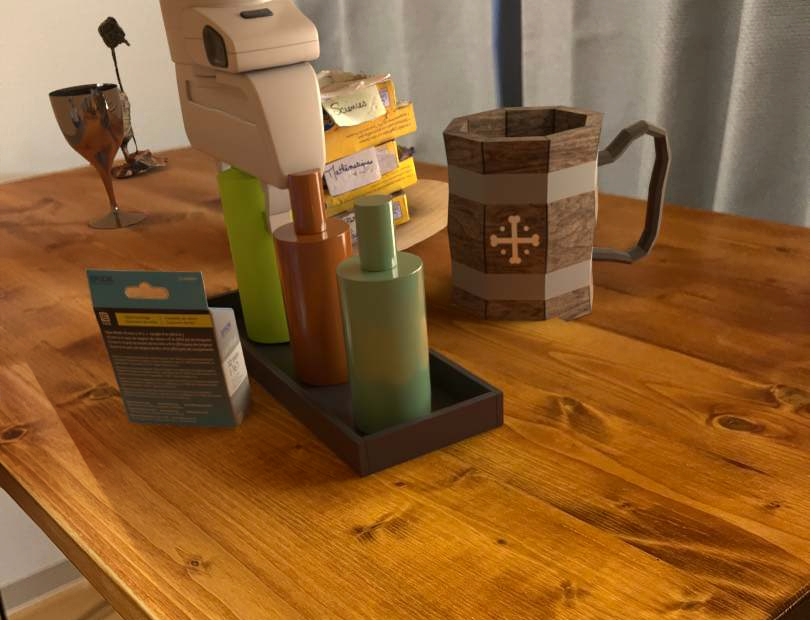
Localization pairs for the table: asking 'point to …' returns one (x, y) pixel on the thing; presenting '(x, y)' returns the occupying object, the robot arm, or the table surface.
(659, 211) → the mug
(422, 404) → the green bottle
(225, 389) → the label tape box
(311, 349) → the amber bottle
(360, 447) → the tray
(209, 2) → the robot arm
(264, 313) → the soap dispenser
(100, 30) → the plant with pod
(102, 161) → the wine glass
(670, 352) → the table surface
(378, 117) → the yellow box stack
